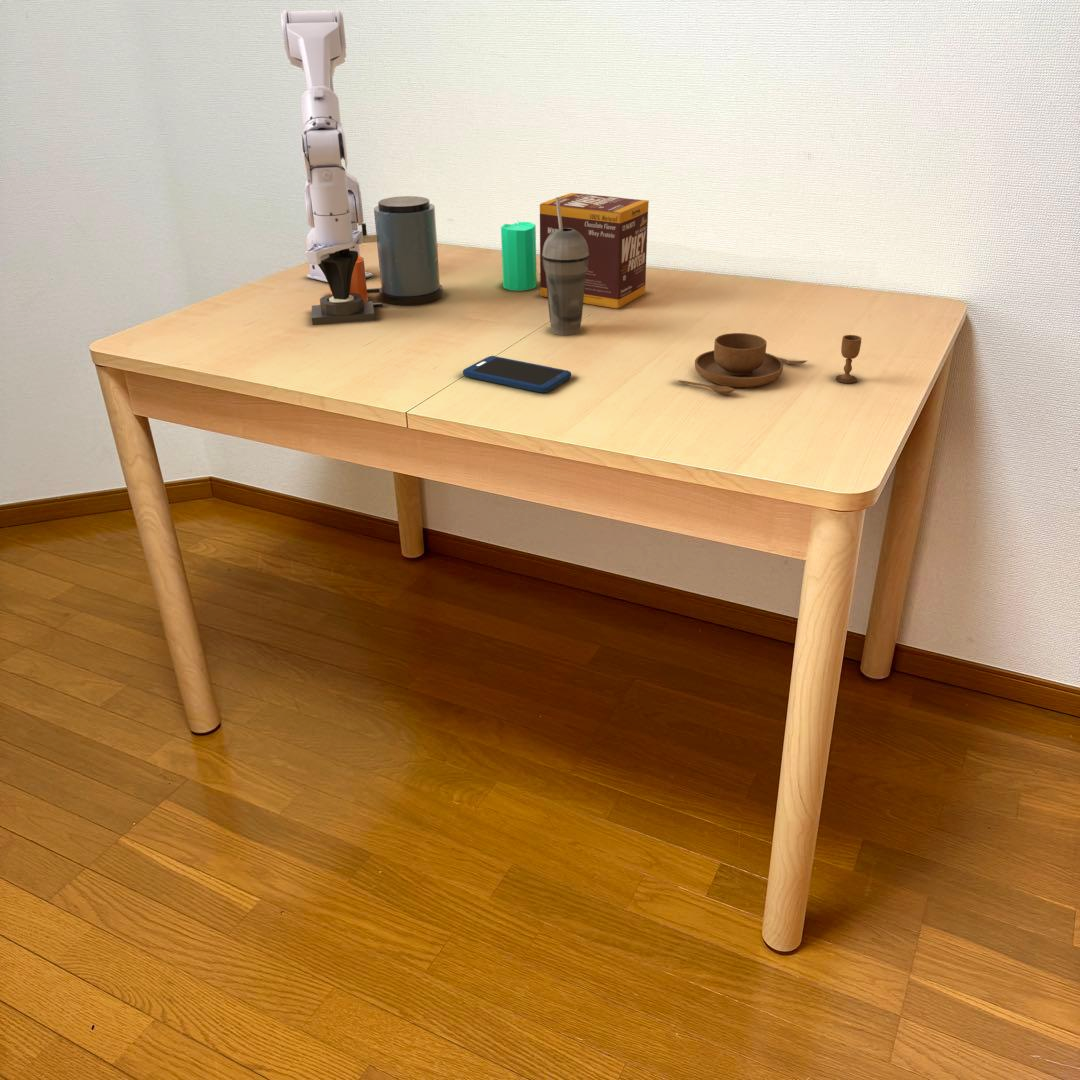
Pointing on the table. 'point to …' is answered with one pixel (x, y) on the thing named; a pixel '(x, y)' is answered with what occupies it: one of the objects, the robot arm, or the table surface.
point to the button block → (342, 311)
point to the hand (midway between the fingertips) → (341, 298)
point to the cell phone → (517, 374)
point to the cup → (358, 279)
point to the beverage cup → (565, 277)
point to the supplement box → (603, 244)
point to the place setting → (755, 362)
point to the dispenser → (406, 251)
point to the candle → (519, 256)
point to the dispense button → (341, 299)
